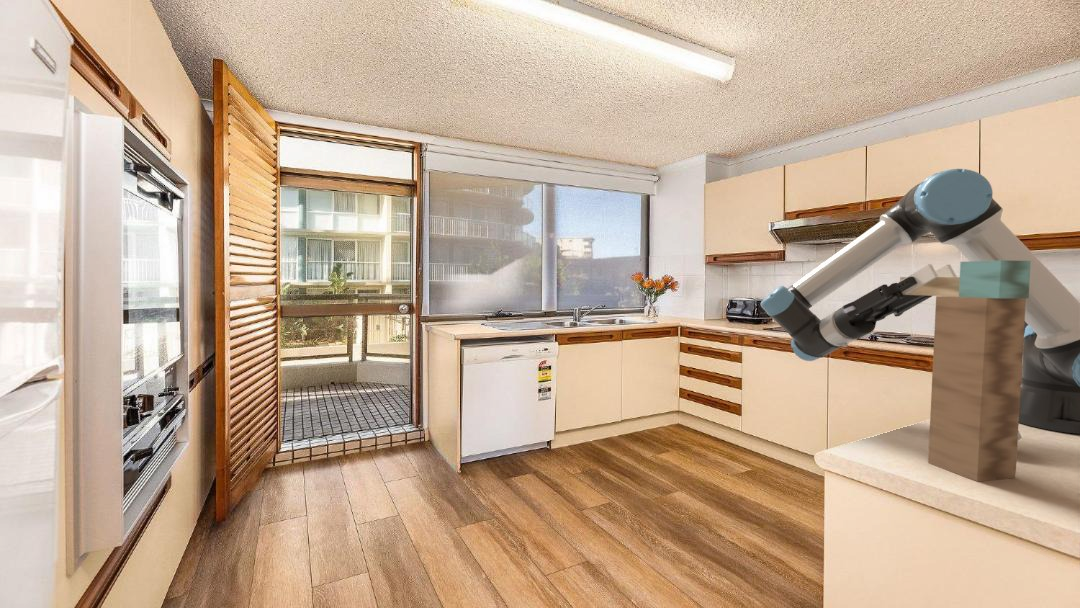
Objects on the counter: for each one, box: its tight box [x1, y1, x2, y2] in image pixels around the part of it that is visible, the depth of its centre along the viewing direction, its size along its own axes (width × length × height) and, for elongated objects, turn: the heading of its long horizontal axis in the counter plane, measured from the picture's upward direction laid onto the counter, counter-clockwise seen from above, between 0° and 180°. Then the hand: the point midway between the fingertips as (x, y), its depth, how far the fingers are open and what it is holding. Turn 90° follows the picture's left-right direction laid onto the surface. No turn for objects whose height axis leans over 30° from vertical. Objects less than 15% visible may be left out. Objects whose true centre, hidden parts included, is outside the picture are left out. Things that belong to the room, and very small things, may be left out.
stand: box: [927, 296, 1026, 482], centre depth 81 cm, size 8×8×30 cm
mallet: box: [899, 260, 1031, 298], centre depth 84 cm, size 6×18×6 cm, turn 11°
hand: (942, 271), depth 86 cm, fingers closed on mallet, 3 cm apart
